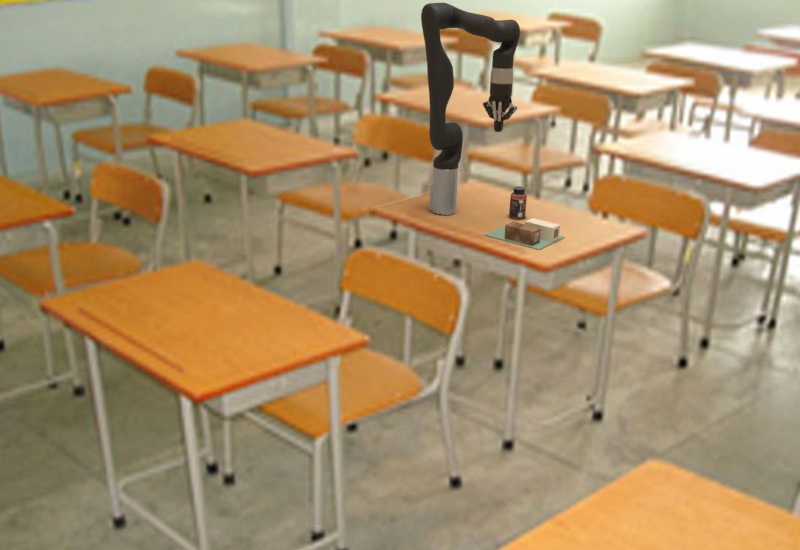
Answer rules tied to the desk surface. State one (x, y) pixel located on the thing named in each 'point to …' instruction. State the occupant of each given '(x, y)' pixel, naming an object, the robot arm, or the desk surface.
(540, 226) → the cream block
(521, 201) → the supplement bottle
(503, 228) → the cutting mat
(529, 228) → the walnut block
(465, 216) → the desk surface
